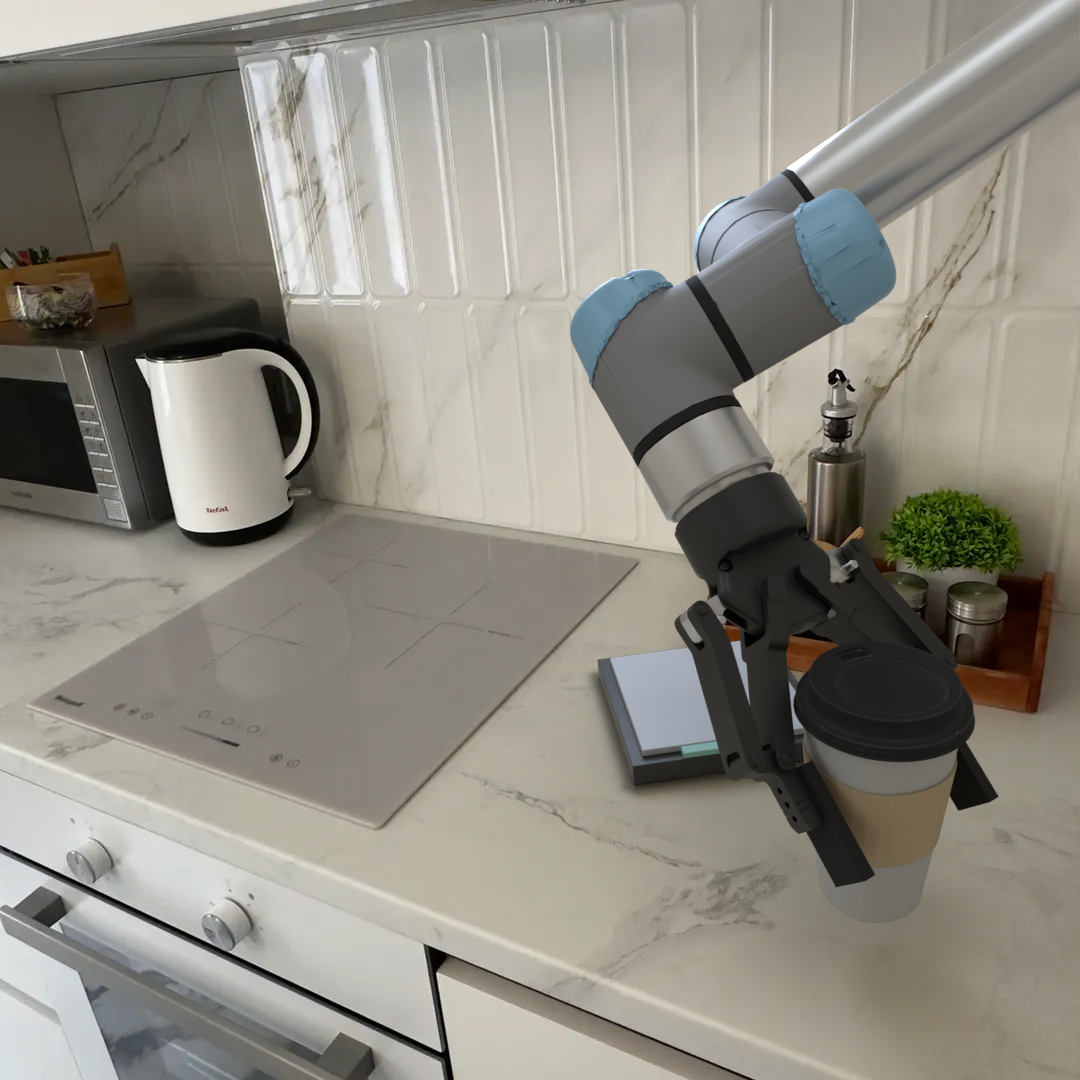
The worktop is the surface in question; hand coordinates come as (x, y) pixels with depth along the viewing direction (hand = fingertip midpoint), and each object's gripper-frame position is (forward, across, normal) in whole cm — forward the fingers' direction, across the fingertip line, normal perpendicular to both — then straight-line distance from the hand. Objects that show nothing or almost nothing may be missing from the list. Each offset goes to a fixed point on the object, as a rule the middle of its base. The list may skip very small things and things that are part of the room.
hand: (919, 840), depth 54 cm
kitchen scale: (-12, -8, -26) cm, 30 cm away
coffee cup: (+2, 0, -6) cm, 7 cm away
